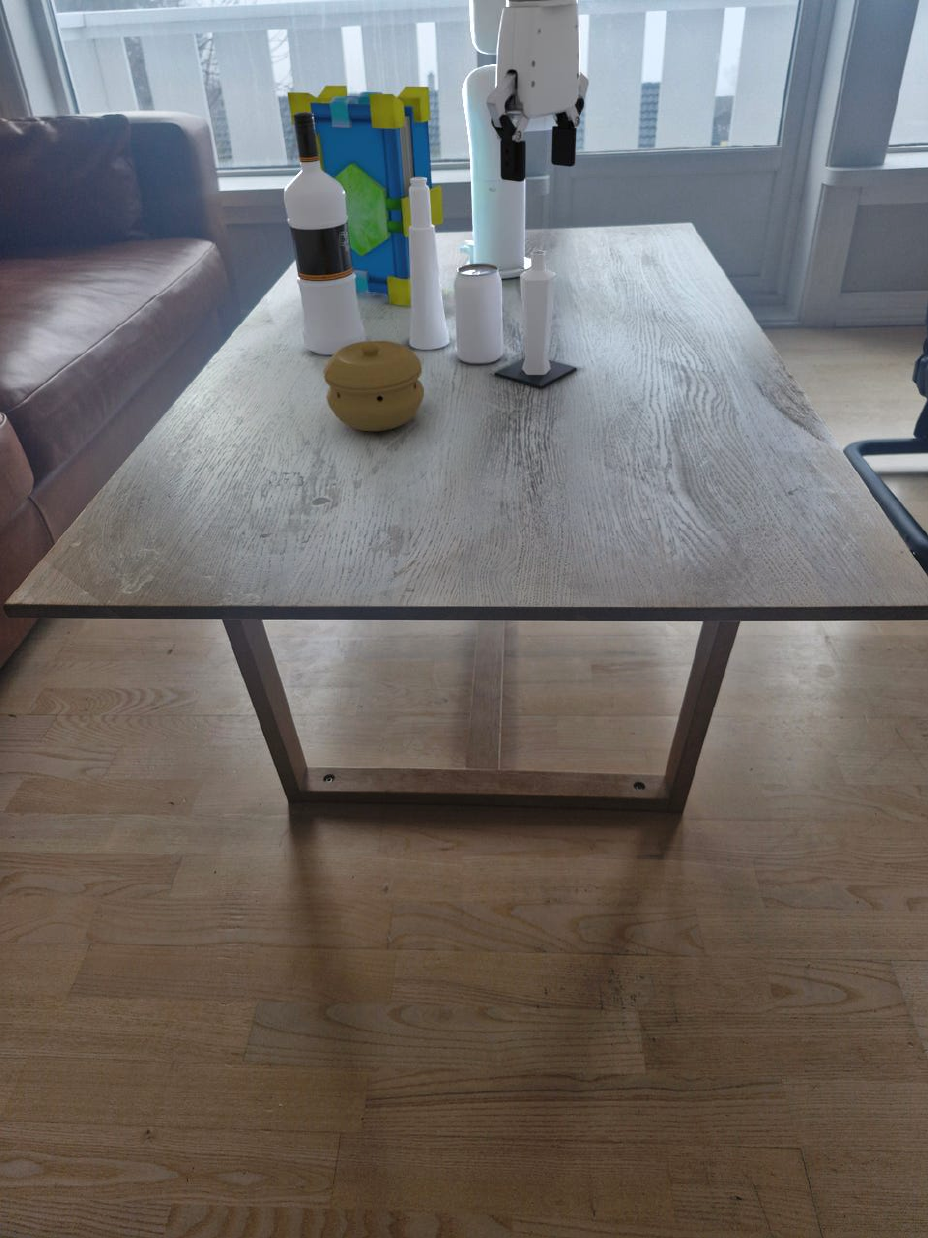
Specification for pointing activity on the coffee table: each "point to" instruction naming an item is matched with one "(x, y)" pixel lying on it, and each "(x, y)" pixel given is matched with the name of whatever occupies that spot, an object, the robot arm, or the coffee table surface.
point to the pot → (374, 385)
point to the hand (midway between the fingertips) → (538, 172)
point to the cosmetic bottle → (424, 273)
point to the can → (478, 313)
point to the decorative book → (375, 175)
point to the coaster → (538, 381)
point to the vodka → (322, 250)
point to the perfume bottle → (537, 313)
